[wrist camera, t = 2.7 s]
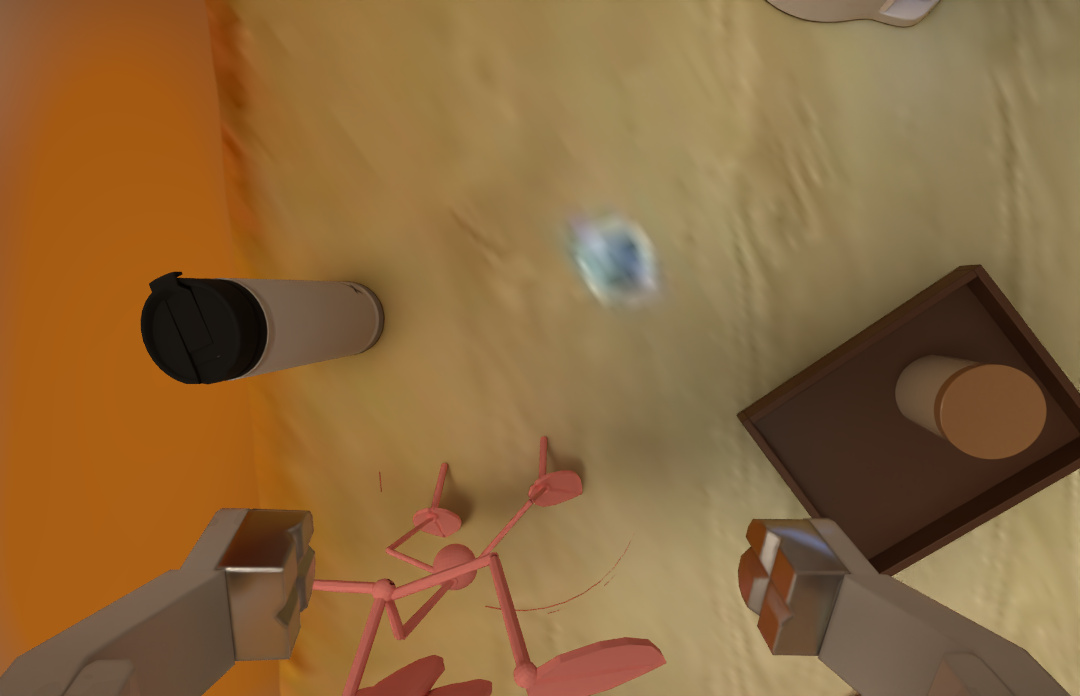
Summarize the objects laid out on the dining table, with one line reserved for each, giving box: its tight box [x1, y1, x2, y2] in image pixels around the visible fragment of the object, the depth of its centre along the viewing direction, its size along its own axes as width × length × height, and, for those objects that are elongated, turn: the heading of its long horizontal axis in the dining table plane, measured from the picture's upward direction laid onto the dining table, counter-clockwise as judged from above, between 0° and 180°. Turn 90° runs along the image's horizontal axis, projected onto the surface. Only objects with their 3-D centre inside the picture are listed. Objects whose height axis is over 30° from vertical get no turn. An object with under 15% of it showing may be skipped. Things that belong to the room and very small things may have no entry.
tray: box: [737, 265, 1080, 576], centre depth 46 cm, size 19×15×3 cm
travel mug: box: [141, 272, 384, 384], centre depth 45 cm, size 6×7×20 cm
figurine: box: [312, 436, 666, 696], centre depth 37 cm, size 15×26×35 cm, turn 107°
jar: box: [895, 354, 1047, 459], centre depth 43 cm, size 6×6×8 cm
